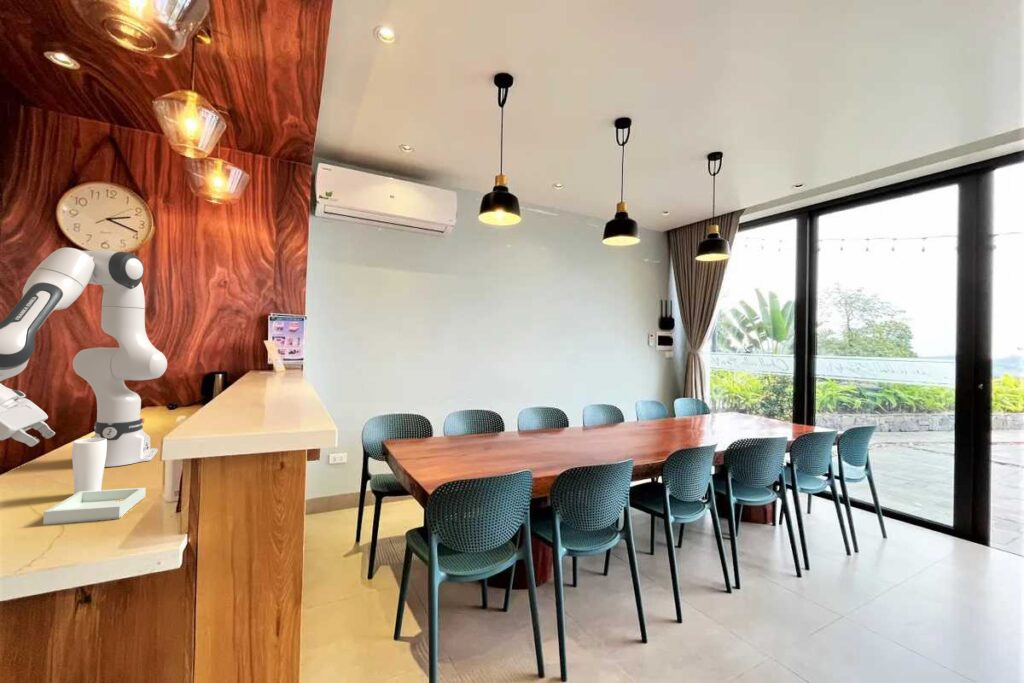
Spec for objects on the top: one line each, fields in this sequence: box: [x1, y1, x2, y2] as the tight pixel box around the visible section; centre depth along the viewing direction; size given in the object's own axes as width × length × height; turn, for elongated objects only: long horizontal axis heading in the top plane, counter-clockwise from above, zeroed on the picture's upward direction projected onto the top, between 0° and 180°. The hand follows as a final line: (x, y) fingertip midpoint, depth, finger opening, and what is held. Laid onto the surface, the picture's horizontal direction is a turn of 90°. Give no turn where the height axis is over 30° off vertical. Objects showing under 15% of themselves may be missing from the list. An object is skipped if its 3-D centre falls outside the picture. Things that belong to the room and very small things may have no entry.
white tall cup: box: [71, 437, 107, 495], centre depth 118 cm, size 7×7×15 cm
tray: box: [42, 487, 147, 526], centre depth 109 cm, size 14×14×3 cm
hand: (44, 440), depth 114 cm, fingers open, 8 cm apart
